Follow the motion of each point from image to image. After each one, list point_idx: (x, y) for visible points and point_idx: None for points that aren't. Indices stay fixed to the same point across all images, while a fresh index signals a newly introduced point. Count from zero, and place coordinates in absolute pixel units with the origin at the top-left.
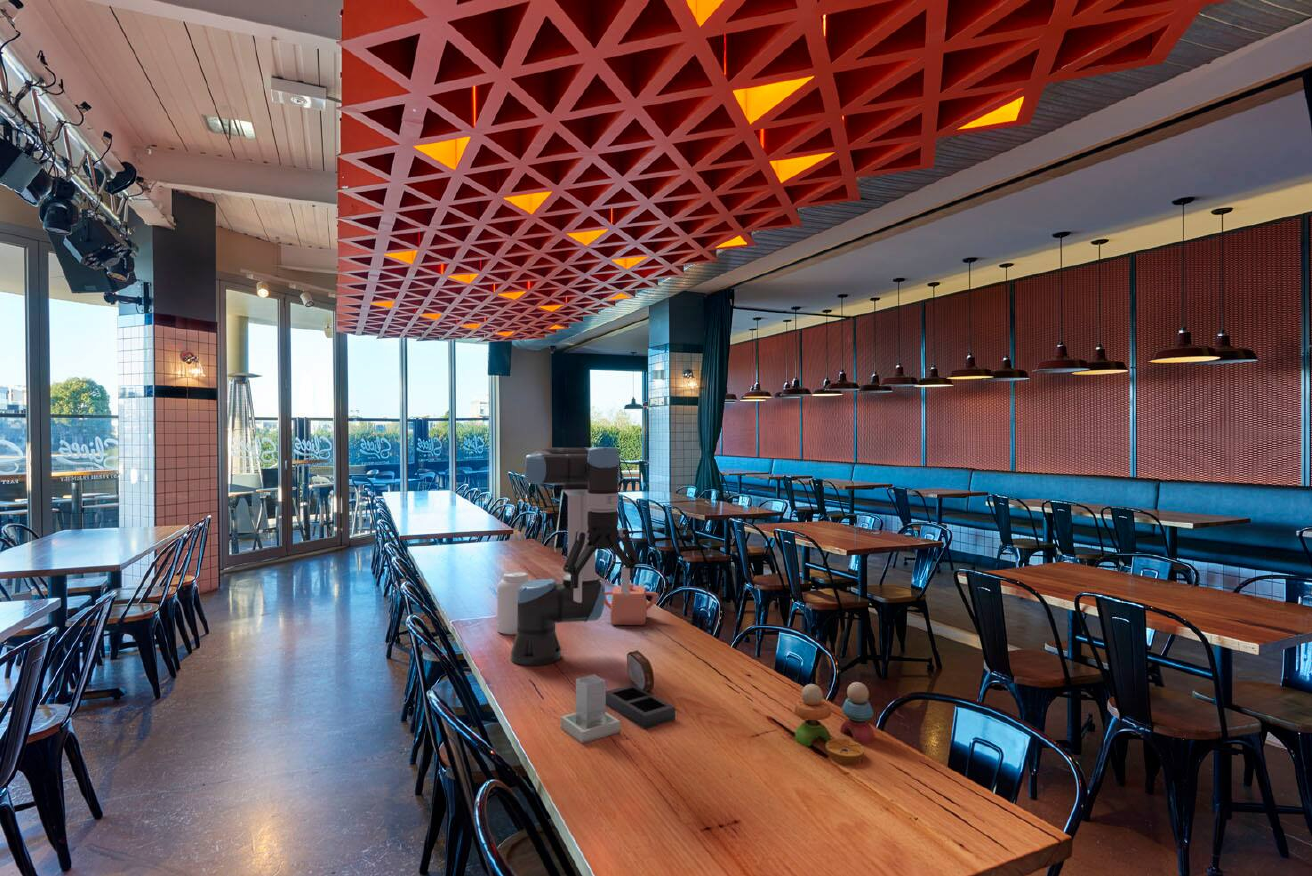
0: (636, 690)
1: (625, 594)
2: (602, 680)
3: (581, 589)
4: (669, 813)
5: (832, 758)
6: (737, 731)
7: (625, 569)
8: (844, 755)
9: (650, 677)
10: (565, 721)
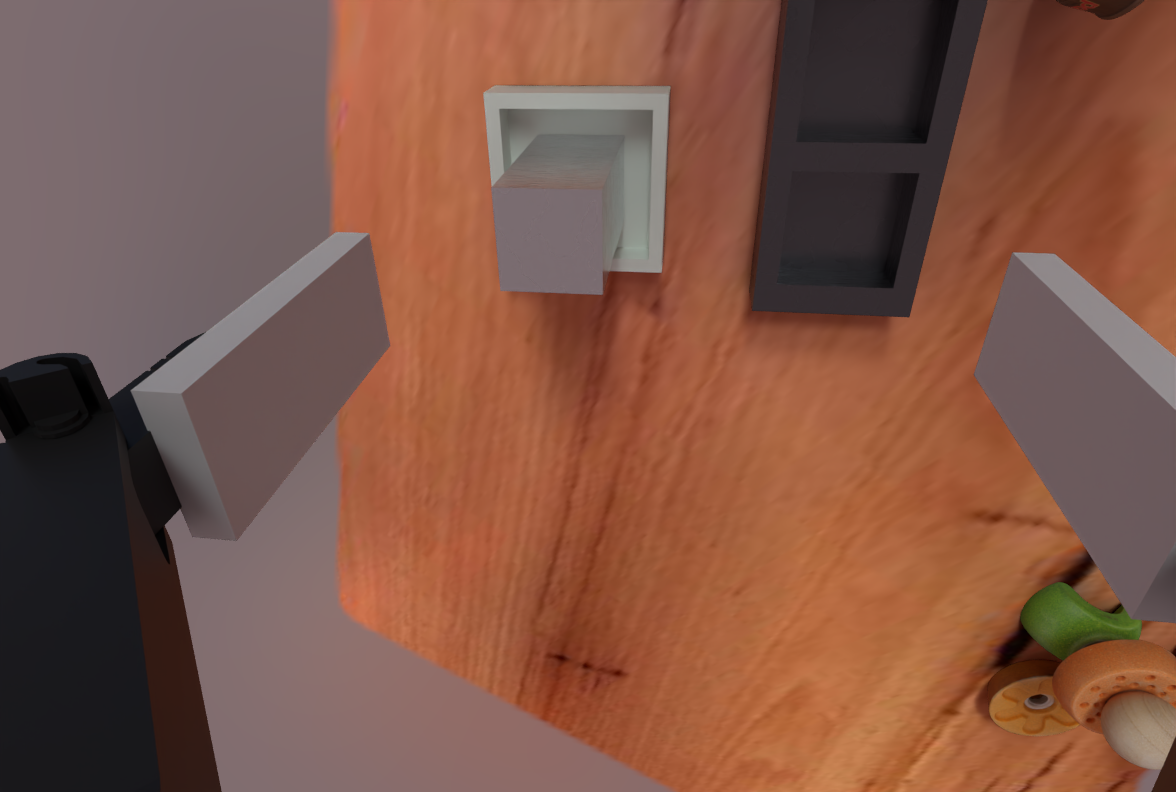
0: (948, 36)
1: (984, 343)
2: (590, 285)
3: (325, 419)
4: (528, 600)
5: (991, 683)
6: (974, 473)
7: (1146, 558)
8: (993, 720)
9: (1093, 12)
10: (488, 135)
